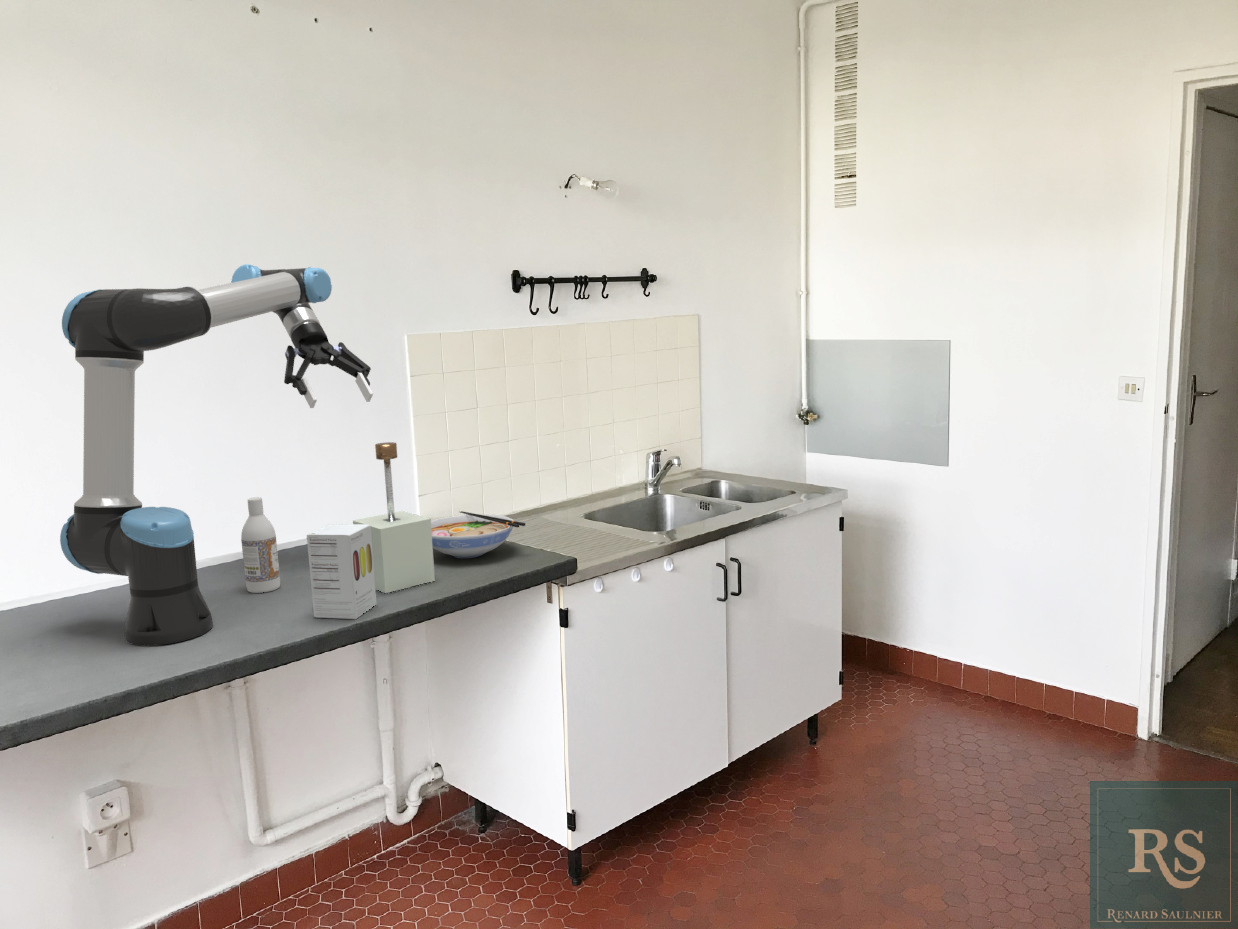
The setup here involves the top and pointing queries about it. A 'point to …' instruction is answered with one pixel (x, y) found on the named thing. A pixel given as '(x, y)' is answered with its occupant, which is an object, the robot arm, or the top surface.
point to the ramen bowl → (470, 533)
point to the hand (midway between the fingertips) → (342, 401)
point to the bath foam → (259, 550)
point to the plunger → (387, 472)
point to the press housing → (401, 550)
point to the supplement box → (341, 570)
